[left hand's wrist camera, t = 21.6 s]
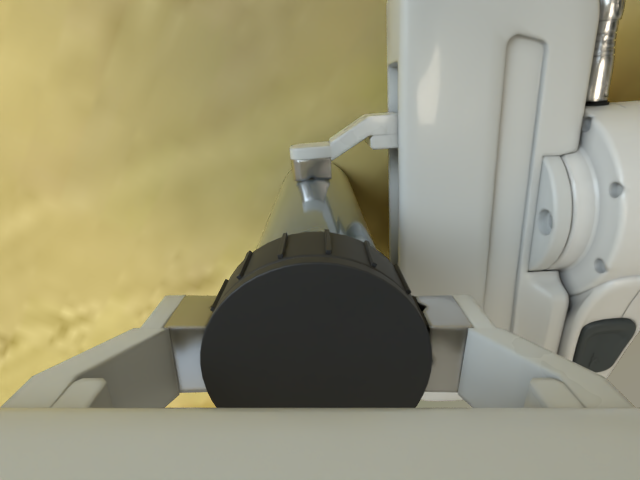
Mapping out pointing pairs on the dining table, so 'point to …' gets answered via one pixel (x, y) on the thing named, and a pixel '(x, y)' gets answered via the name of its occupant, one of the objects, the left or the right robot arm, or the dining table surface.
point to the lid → (316, 329)
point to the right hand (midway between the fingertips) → (297, 222)
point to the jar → (316, 209)
